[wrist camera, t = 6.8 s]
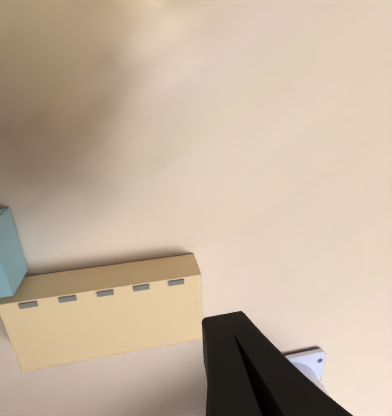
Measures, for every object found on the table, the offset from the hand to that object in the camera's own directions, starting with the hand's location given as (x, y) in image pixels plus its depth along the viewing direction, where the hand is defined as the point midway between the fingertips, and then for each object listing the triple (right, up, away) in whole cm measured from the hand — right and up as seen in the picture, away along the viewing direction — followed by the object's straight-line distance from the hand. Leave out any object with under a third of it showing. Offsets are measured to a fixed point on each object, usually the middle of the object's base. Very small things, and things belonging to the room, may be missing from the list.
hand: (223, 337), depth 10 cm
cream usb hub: (-6, -2, +10) cm, 12 cm away
